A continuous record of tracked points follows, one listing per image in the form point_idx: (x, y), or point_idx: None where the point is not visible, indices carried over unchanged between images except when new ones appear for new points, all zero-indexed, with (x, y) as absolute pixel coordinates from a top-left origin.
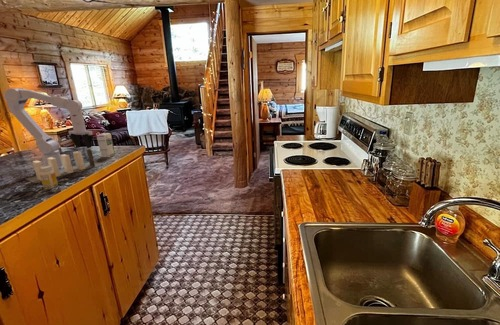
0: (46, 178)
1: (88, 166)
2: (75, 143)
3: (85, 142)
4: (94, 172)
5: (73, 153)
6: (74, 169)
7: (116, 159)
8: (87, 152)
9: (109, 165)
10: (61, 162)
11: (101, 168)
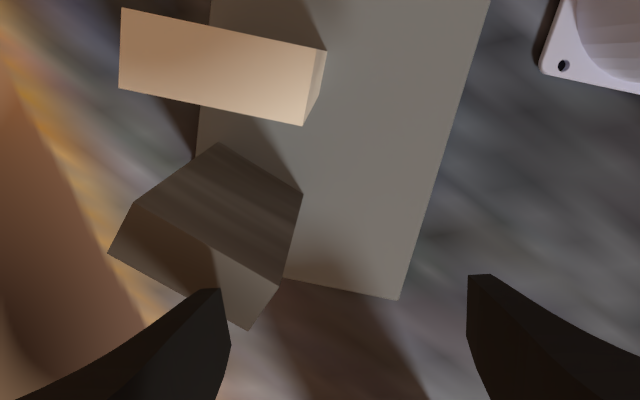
0: None
1: (257, 142)
2: (507, 314)
3: (157, 346)
4: (16, 22)
5: (303, 46)
6: (315, 10)
7: (226, 392)
8: (167, 202)
9: (105, 241)
10: (619, 50)
11: (85, 148)
